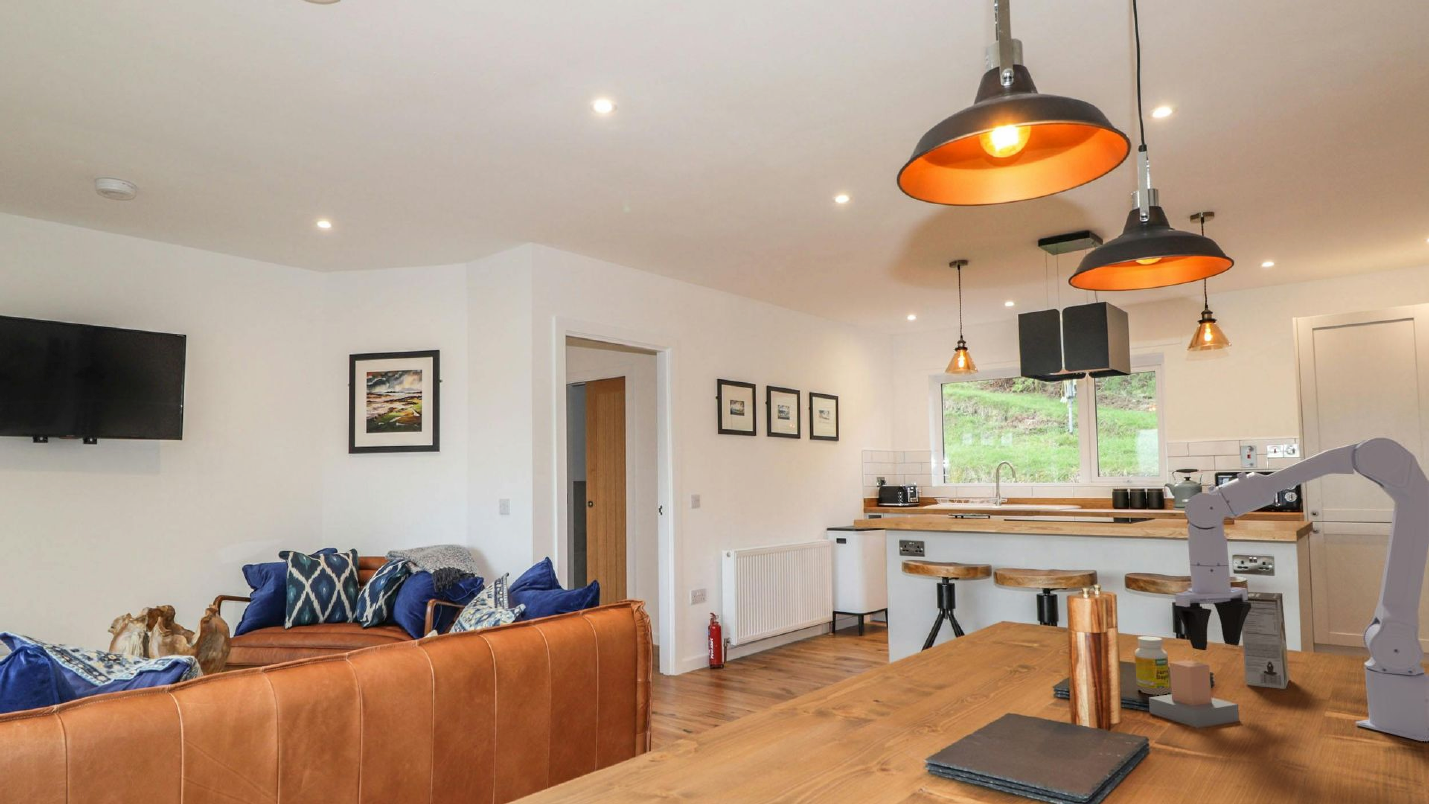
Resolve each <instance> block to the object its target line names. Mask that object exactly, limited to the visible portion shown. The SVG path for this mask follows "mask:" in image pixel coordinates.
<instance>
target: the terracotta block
mask: <svg viewBox="0 0 1429 804" xmlns="http://www.w3.org/2000/svg"><path fill="white" fill-rule="evenodd" d="M1168 665H1169V679H1170V693H1171V694H1172V700H1175V701H1178V702H1182V703H1185V704H1189V705H1192V706H1195V705H1201V704H1208V703H1212V698H1213V697H1212V689H1211V687H1212V686H1211V673H1210V664H1207V663H1202V662H1198V661H1195V660H1189V659H1186V660H1179V661H1168ZM1211 697H1212V698H1211Z"/></svg>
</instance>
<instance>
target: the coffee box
mask: <svg viewBox="0 0 1429 804" xmlns="http://www.w3.org/2000/svg"><path fill="white" fill-rule="evenodd" d="M1247 597H1248V600H1243V601H1244V602H1250V603H1251V609H1250V611H1249V612H1248V614H1247V616H1246V619H1245V621H1244V624H1243V627H1242V631H1241V636H1242V637H1241V639H1242V649H1243V651H1242V653H1243V661H1244V662H1243V663H1244V665H1243V666H1244V674H1245V675H1244V677H1245V684H1246V686H1252V687H1253V686H1255V687H1262V688H1271V689H1279V690H1280V689H1282V690H1286V688H1287V686H1288V683H1289V680H1290V670H1289V669H1290V668H1289V658H1288V648H1287V634H1286V625H1285V614H1284V603H1283V602H1284V599H1283V598H1284V597H1283V593H1282V592H1261V591H1259V592H1258V591H1247Z"/></svg>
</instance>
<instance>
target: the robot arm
mask: <svg viewBox="0 0 1429 804" xmlns="http://www.w3.org/2000/svg"><path fill="white" fill-rule="evenodd" d="M1355 472H1357V474H1359V475H1361V476H1362V477H1364V478H1366V479H1368V480H1370V481H1372V482H1374V483H1375V484H1377V485H1378V486H1379V488H1380V489H1382V491H1383V492H1385V493H1386V494H1387V495H1388V496H1389V498H1390V499H1392V500H1393V502H1394V504H1393V506H1394V507H1393V511H1392V517H1391V524H1390V530H1389V537H1388V541H1387V542H1388V544H1387V549H1386V554H1385V560H1384V561H1385V562H1384V566H1383V567H1384V569H1383V574H1382V580H1381V584H1380V592H1379V599H1378V602H1377V604H1376V607H1375V610H1374V614H1373V618H1372V621H1371V622H1370V623H1369V624H1368V626H1366V628H1365V629H1364V631H1363V634H1362V639H1363V644H1364V646H1365V648H1366V650H1367V651H1368V653H1369V654H1370V657H1369V659H1368V660H1367V661H1364V662H1363V663H1364V675H1365V688H1366V697H1367V710H1368V718H1367V719H1363V720H1358V721H1355V725H1356V726H1359V727H1363V728H1366V729H1371V730H1374V731H1378V732H1382V733H1385V734H1387V733H1388V734H1390V735H1393V736H1399V737H1403V738H1407V739H1411V740H1416V741H1419V742H1423V741H1424V742H1425V741H1426V742H1429V674H1428V673H1426V672H1425V670H1426V669H1425V667H1424V666H1423V665H1422V664H1421V663H1422V661H1423V657H1424V650H1423V647H1422V645H1421V642H1420V639H1419V629H1420V623H1419V622H1420V618H1419V609H1420V608H1419V607H1420V602H1421V595H1422V589H1423V584H1424V578H1425V577H1424V576H1425V571H1426V564H1427V559H1428V552H1429V479H1428V478H1427V475H1425V473H1424V471H1423V470H1422V467H1421V466H1420V464H1419V462H1418V461H1417V459H1416V456H1415V455H1414V454H1413V453H1412V452H1411V451H1409V450H1408V449H1407V448H1405V446H1403V445H1401V443H1399V442H1397V441H1395V440H1393V439H1391V438H1387V437H1373V438H1367V439H1365V440H1361V441H1360V442H1357V443H1356V442H1355V443H1351V444H1347V445H1342V446H1339V447H1334V448H1330V449H1328V450H1327V449H1326V450H1324V451H1321V452H1319V453H1317V454H1314V455H1312V456H1310V457H1307V458H1305V459H1303V460H1301V461H1298V462H1296V463H1294V464H1291V465H1289V466H1286V467H1284V468H1282V469H1280V470H1277V471H1275V472H1272V473H1270V474H1268V475H1265V474H1261V473H1260V472H1259V473H1258V472H1256V471H1252V472H1249V473H1246V472H1245V471H1242V472H1239V473H1237V474H1236V477H1237V478H1234V479H1232V480H1230V481H1227V482H1225V483H1222V484H1219V485H1218V486H1217V485H1216V486H1215V485H1214V484H1212V485H1210V486H1208V487H1207V490H1208V492H1197V493H1196V494H1194V495H1193V496H1191V497H1190V498H1189V499H1188V500H1187V501H1186V503H1185V506H1184V514H1185V517H1186V519H1187V520H1188V521H1189V522H1188V524H1187V533H1188V537H1187V544H1188V558H1189V569H1190V582H1191V583H1190V584H1191V588H1187V590H1186V591H1182V592H1177V593H1175V594H1174V597H1175V603H1174V604H1173V609H1174V611H1175V613H1176V614H1177V616H1178V618H1179V619H1180V620H1181V622H1182V624H1183V625H1184V627H1185V631H1186V633H1187V636H1188V639H1189V641H1190V644H1191V646H1192V649H1194V650H1199V651H1206V650H1207V647H1208V625H1209V620H1210V616H1211V613H1212V609H1211V608H1205V607H1203V606H1202V605H1205V604H1206V605H1207V604H1213V605H1214V607H1215V609H1216V611H1217V615H1218V617H1219V621H1220V624H1221V632H1222V638H1223V641H1224V644H1225V645H1231V646H1234V647H1235V646H1236V647H1237V646H1239V644H1240V642H1241V641H1240V640H1241V636H1242V627H1243V624H1244V621H1245V619H1246V616H1247V614H1248V612H1249V611H1250V609H1251V603H1250V602H1244V601H1243V600H1248V597H1247V592H1248V589H1247V588H1245V587H1234V586H1233V587H1232V586H1231V576H1230V575H1231V574H1230V565H1229V550H1228V539H1227V536H1226V535H1225V527H1224V520H1225V518H1231V519H1235V518H1238V517H1240V516H1241V517H1242V516H1244V515H1245V514H1246V515H1247V514H1249V513H1251V512H1254V511H1257V510H1260V509H1261V508H1264V507H1266V506H1270V505H1272V504H1273V503H1274V501H1275V497H1276V495H1277V494H1278V493H1279V492H1282V491H1285V490H1288V489H1290V488H1294V487H1296V486H1299V485H1302V484H1305V483H1307V482H1310V481H1313V480H1315V479H1318V478H1322V477H1323V476H1328V475H1331V474H1337V475H1339V474H1340V475H1341V474H1342V475H1355ZM1426 742H1425V743H1426Z"/></svg>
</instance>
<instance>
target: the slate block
mask: <svg viewBox="0 0 1429 804" xmlns="http://www.w3.org/2000/svg"><path fill="white" fill-rule="evenodd" d="M1211 698H1212V703H1208V704H1201V705H1195V706H1192V705H1189V704H1185V703H1182V702H1178V701H1175V700H1172V693H1171V694H1170V693H1169V694H1167V695H1159V696H1157V695H1156V696H1151V697H1148V703H1149V704H1148V706H1149V707H1148V708H1149V714H1151V715H1154V716H1158V717H1160V718H1164V719H1168V720H1171V721H1174V722H1178V723H1181V724H1184V725H1187V726H1189V727H1190V726H1191V727H1193V728H1196V729H1199V728H1205V727H1211V726H1216V725H1217V726H1218V725H1222V724H1229V723H1234V722H1240V711H1239V704H1238V703H1236V702H1235V703H1234V702H1232V701H1231V702H1230V701H1227V700H1225V699H1224V700H1223V699H1221V698H1220V699H1219V698H1215V697H1212V696H1211Z"/></svg>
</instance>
